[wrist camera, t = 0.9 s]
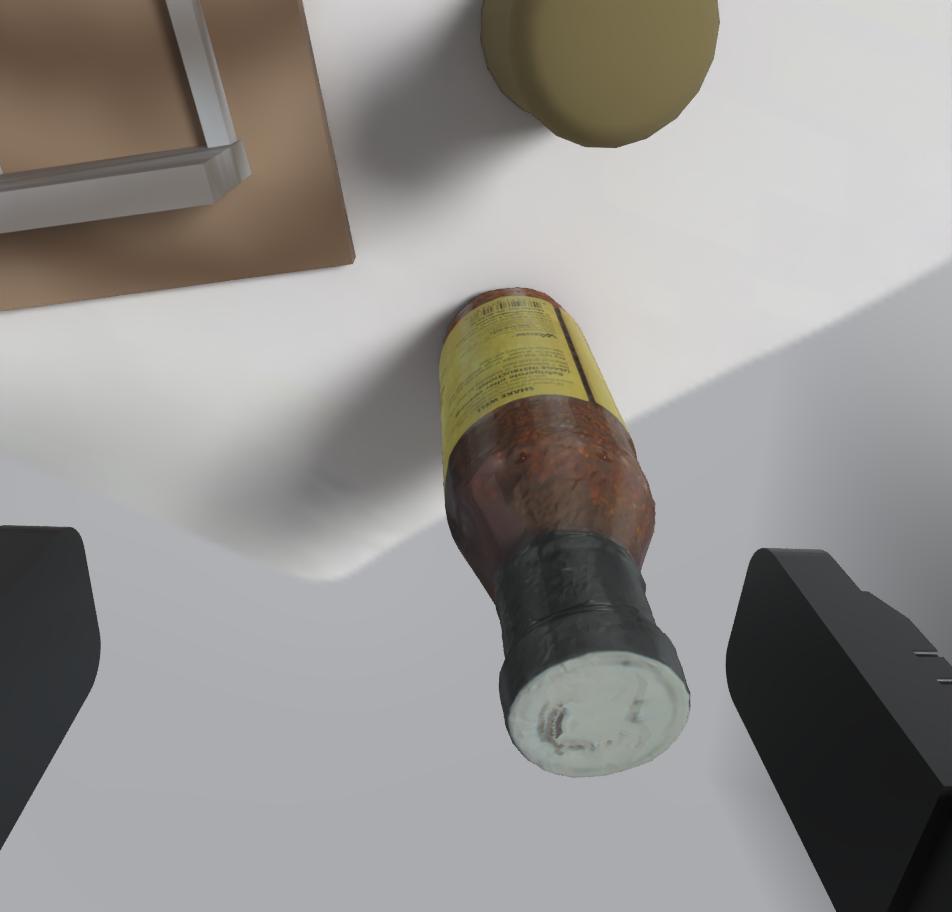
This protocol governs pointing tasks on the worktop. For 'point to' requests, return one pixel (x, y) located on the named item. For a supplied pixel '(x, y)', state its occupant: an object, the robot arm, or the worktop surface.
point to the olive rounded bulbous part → (600, 62)
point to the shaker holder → (160, 148)
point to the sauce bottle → (556, 537)
